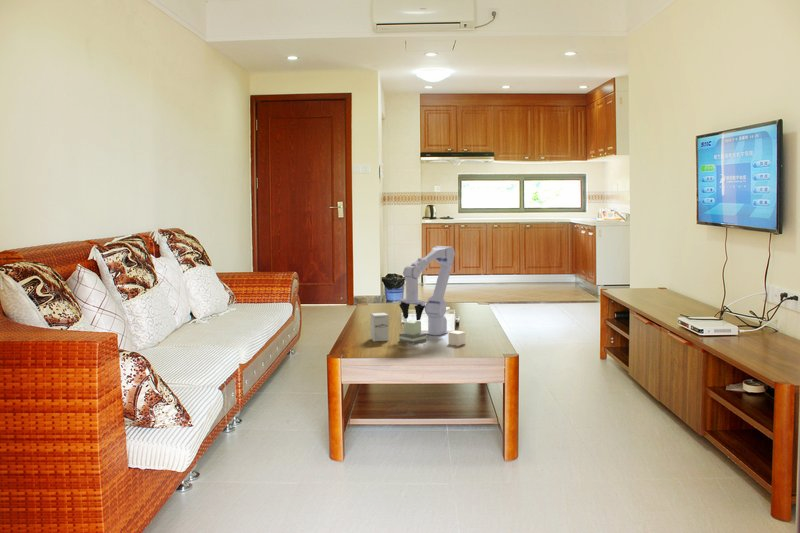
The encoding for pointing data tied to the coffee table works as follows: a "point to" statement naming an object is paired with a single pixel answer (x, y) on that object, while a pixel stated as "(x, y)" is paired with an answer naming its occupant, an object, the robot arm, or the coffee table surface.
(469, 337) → the coffee table surface
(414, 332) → the sage block
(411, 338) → the grey striped square box
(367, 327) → the coffee table surface
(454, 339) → the cream block
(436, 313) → the robot arm
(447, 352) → the coffee table surface
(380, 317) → the supplement box
